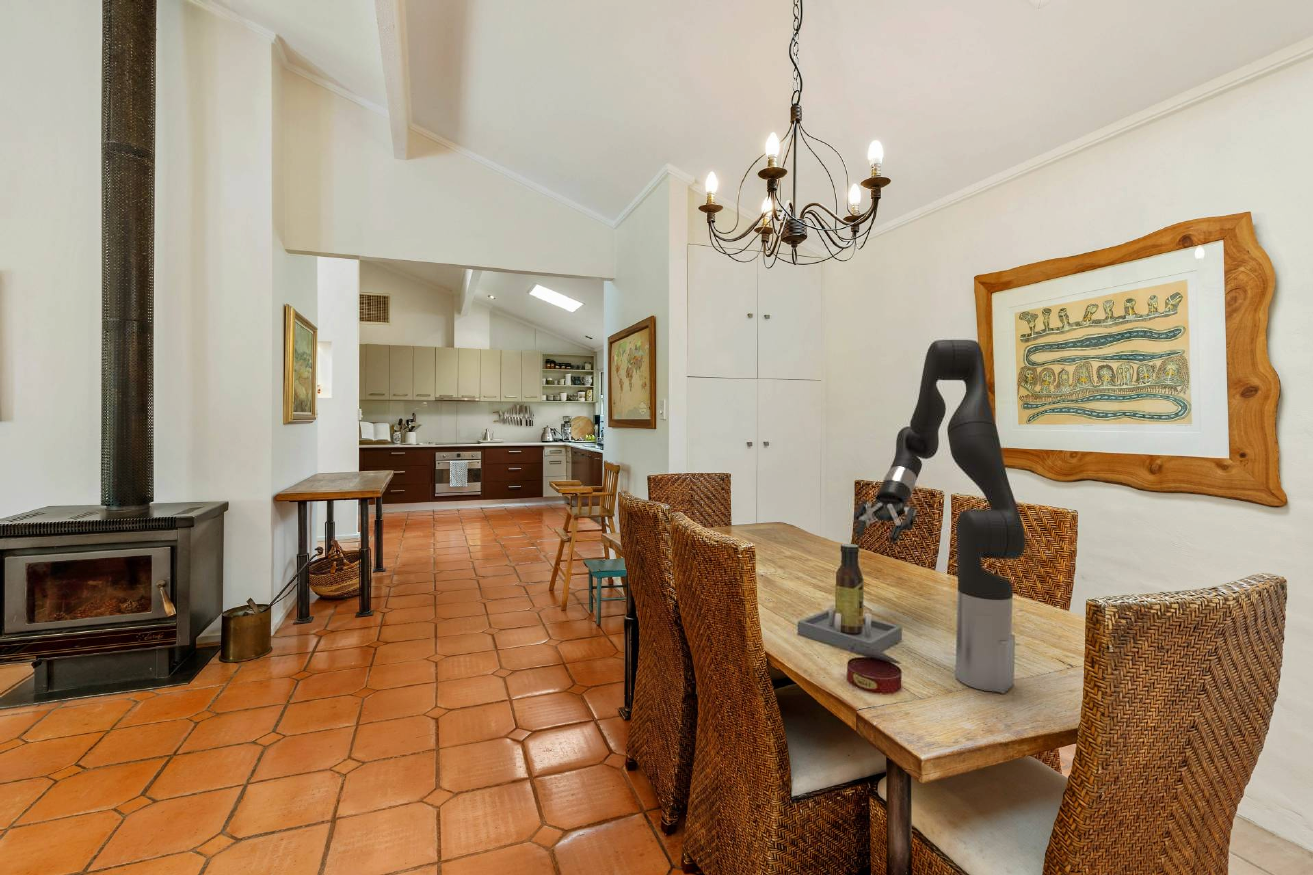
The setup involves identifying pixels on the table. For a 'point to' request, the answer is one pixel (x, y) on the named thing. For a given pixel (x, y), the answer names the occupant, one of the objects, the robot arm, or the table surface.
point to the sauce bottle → (849, 590)
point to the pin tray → (829, 631)
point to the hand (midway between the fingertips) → (874, 538)
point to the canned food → (873, 670)
